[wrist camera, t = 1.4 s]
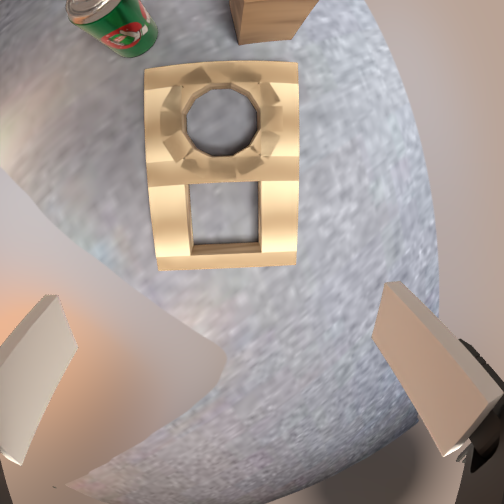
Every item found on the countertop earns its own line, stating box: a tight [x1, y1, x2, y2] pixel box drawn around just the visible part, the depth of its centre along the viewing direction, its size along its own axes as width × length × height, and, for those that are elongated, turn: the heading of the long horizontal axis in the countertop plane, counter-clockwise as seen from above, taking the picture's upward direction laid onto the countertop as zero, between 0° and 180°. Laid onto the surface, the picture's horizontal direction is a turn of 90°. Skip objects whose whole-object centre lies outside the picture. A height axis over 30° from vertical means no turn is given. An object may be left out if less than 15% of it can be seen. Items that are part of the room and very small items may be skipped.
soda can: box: [66, 0, 158, 58], centre depth 15 cm, size 5×5×12 cm
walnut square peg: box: [229, 0, 319, 45], centre depth 17 cm, size 6×6×10 cm
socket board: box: [144, 61, 299, 271], centre depth 26 cm, size 20×14×3 cm
